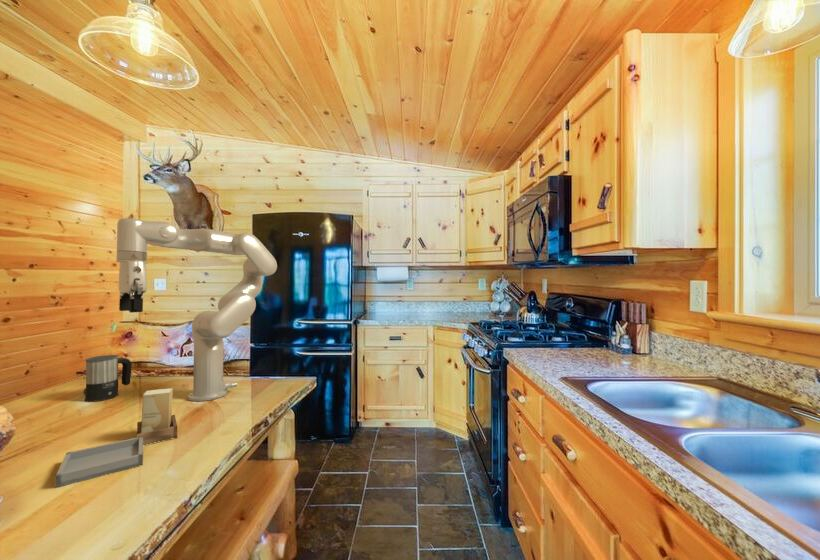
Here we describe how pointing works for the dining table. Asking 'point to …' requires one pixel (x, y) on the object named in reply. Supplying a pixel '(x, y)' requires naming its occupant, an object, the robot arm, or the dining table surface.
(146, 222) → the robot arm
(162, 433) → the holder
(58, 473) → the tray
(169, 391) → the skincare box
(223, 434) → the dining table surface
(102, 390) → the milk frother
